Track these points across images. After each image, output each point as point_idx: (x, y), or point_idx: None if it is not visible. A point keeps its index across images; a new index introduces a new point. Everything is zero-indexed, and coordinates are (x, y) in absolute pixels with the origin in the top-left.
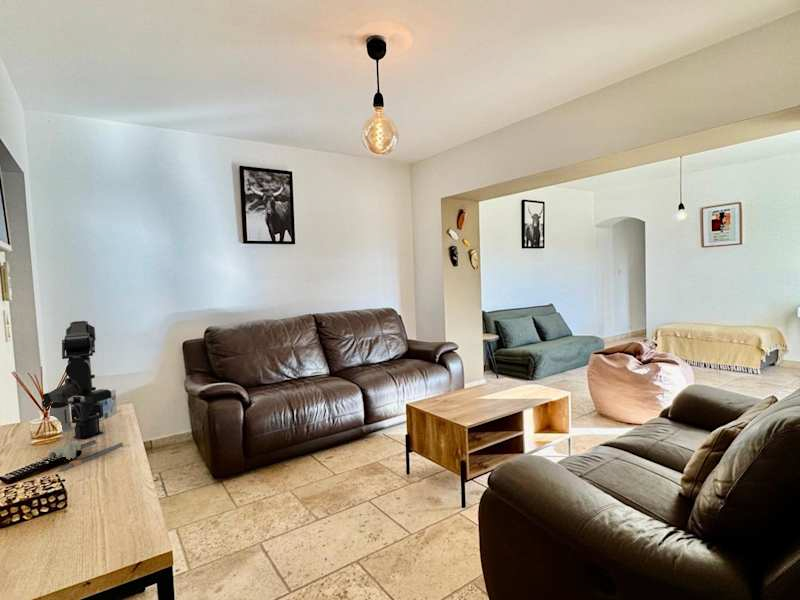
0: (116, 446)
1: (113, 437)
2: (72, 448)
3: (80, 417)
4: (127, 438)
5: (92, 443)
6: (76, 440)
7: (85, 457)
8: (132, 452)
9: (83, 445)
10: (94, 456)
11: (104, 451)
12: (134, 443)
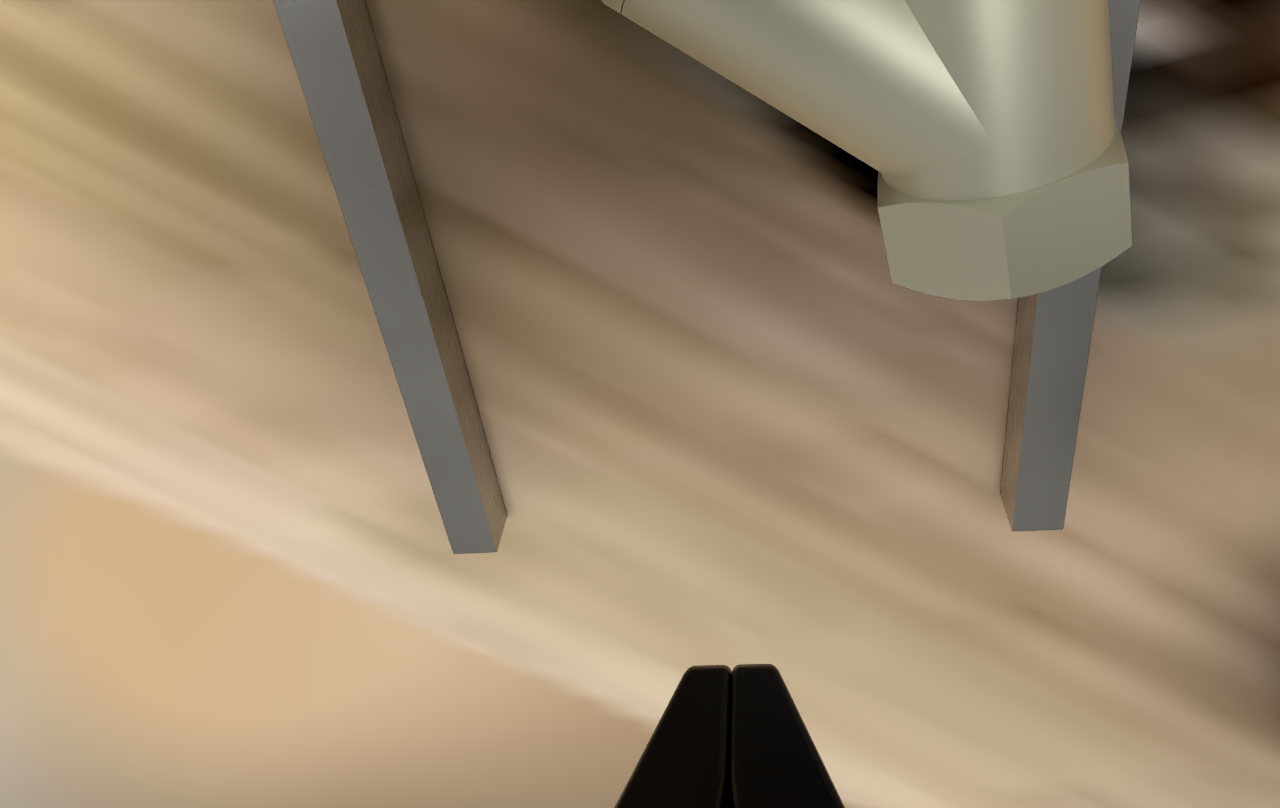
0: (430, 467)
1: (959, 668)
2: (727, 39)
3: (755, 770)
4: None
5: (1009, 462)
6: (996, 297)
7: (338, 9)
8: (95, 426)
9: (1027, 352)
10: (329, 131)
11: (377, 301)
12: (429, 605)
